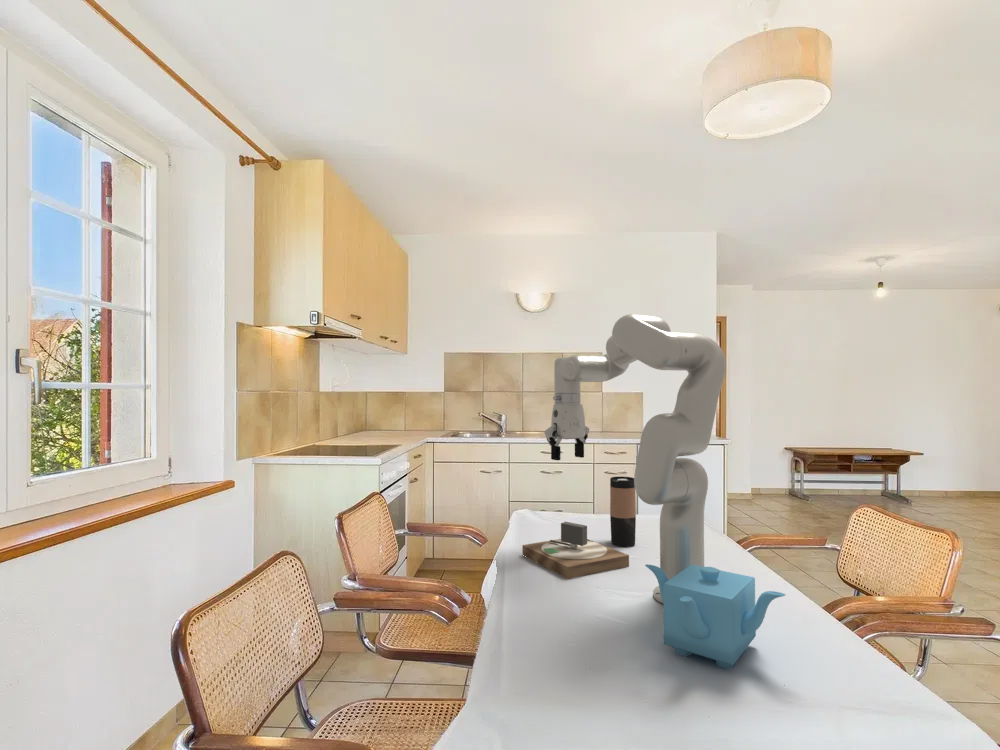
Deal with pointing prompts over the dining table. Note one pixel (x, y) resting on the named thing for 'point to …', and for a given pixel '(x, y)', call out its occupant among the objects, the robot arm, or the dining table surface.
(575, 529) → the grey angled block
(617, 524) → the travel mug
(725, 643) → the teakettle
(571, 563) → the brown wooden flat block
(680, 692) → the dining table surface
